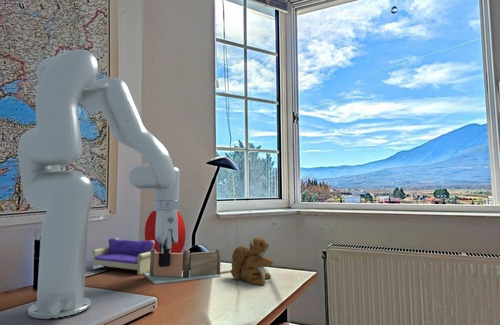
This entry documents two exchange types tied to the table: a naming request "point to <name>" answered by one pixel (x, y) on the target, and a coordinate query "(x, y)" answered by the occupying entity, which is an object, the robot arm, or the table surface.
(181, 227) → the red thick disc
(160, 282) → the mat
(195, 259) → the fixed panel
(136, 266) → the toy sofa
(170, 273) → the panel
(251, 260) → the stuffed squirrel
